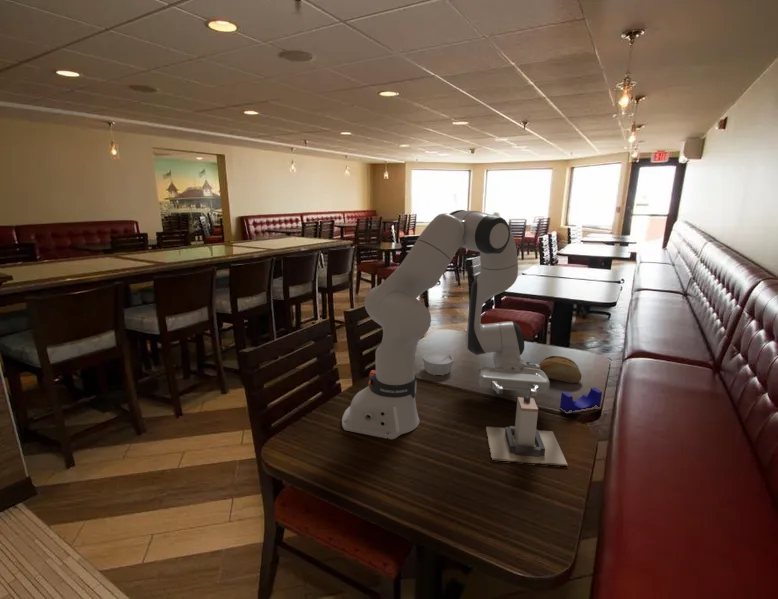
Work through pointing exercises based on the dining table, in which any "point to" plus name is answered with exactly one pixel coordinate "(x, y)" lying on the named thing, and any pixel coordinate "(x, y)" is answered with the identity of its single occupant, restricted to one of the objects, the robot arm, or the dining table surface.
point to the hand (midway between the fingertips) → (516, 393)
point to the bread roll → (561, 369)
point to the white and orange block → (526, 421)
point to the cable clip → (581, 400)
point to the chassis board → (524, 447)
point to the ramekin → (437, 363)
